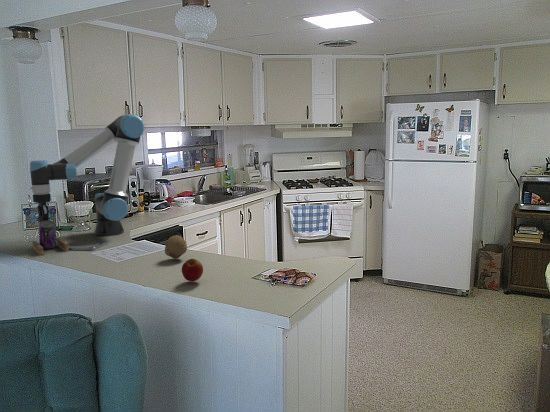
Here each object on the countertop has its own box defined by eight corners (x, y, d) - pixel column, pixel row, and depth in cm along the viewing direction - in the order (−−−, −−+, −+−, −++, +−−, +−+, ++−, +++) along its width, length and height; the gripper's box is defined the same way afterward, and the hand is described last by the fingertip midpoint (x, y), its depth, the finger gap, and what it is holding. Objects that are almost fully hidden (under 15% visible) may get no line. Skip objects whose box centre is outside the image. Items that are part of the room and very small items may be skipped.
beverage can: (49, 251, 211) (49, 229, 206) (36, 247, 212) (35, 225, 206) (59, 244, 217) (59, 222, 212) (46, 239, 218) (45, 218, 213)
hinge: (113, 247, 215) (113, 244, 215) (71, 253, 204) (71, 251, 203) (106, 243, 223) (106, 240, 223) (65, 249, 212) (65, 246, 212)
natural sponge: (192, 257, 194) (191, 234, 193) (177, 262, 187) (175, 238, 185) (177, 254, 199) (176, 232, 198) (161, 259, 192) (160, 236, 191)
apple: (177, 282, 162) (176, 260, 161) (193, 276, 169) (192, 255, 168) (192, 285, 158) (191, 263, 157) (208, 279, 165) (207, 257, 164)
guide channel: (60, 244, 221) (59, 237, 221) (68, 251, 209) (68, 243, 208) (32, 248, 214) (32, 241, 214) (40, 255, 202) (39, 247, 201)
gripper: (29, 192, 217) (34, 241, 220) (35, 195, 206) (39, 246, 210) (47, 191, 221) (51, 239, 225) (53, 194, 211) (57, 244, 215)
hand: (45, 242), depth 217 cm, fingers closed
